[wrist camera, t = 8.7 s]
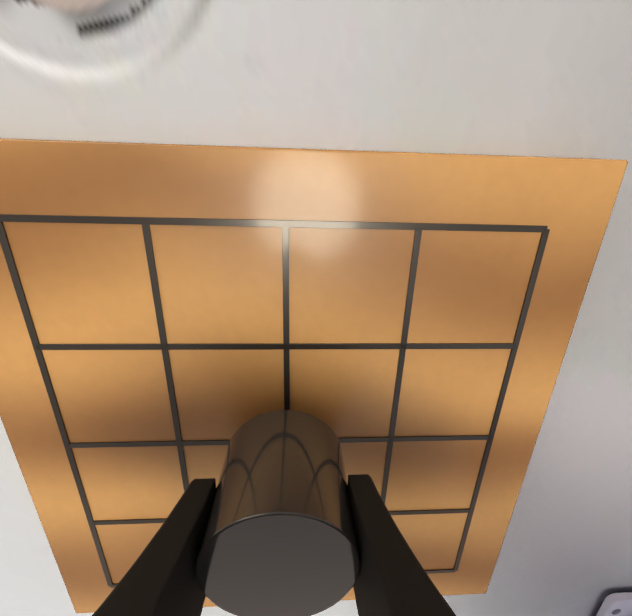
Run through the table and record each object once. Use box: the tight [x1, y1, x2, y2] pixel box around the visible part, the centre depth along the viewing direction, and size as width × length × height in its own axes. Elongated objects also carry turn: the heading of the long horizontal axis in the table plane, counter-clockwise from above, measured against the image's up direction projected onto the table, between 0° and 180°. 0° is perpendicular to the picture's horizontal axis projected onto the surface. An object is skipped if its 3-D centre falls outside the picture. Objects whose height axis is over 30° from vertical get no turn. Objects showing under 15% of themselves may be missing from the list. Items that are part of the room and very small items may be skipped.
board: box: [0, 139, 628, 613], centre depth 12 cm, size 20×20×1 cm
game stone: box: [195, 410, 360, 616], centre depth 9 cm, size 4×4×4 cm
